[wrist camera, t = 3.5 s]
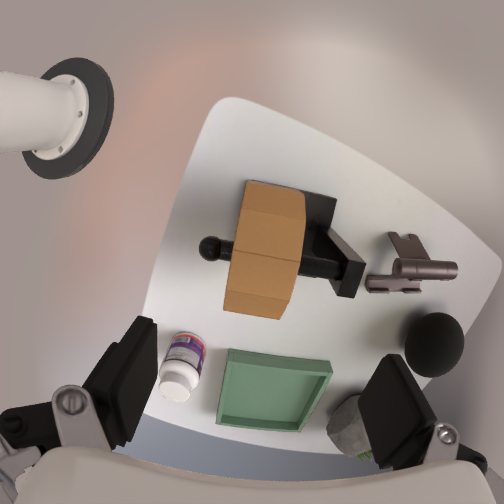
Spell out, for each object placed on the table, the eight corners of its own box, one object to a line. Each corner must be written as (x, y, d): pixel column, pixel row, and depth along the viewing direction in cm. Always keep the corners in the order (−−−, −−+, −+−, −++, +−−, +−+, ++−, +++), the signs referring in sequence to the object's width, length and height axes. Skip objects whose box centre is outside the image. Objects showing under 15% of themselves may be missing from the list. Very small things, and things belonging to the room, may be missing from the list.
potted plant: (378, 380, 36) (427, 414, 35) (336, 386, 47) (383, 416, 46) (344, 447, 30) (401, 472, 28) (306, 438, 41) (358, 464, 39)
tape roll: (230, 276, 30) (218, 336, 20) (249, 177, 27) (243, 187, 16) (270, 284, 30) (276, 345, 20) (293, 185, 27) (315, 202, 17)
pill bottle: (196, 364, 40) (184, 411, 30) (166, 347, 39) (146, 392, 29) (213, 343, 38) (202, 391, 29) (181, 324, 37) (162, 370, 28)
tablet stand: (362, 286, 35) (386, 319, 27) (373, 229, 32) (404, 251, 24) (414, 287, 35) (443, 316, 27) (426, 235, 32) (462, 256, 24)
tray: (217, 412, 44) (215, 424, 41) (229, 348, 38) (227, 360, 36) (298, 421, 44) (300, 432, 42) (329, 361, 39) (333, 372, 36)
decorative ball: (432, 289, 35) (467, 322, 25) (450, 322, 37) (480, 355, 27) (384, 332, 37) (410, 374, 28) (408, 360, 39) (432, 398, 30)
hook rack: (212, 256, 34) (189, 308, 22) (225, 175, 30) (205, 184, 19) (315, 275, 34) (341, 332, 22) (335, 198, 31) (379, 222, 19)
